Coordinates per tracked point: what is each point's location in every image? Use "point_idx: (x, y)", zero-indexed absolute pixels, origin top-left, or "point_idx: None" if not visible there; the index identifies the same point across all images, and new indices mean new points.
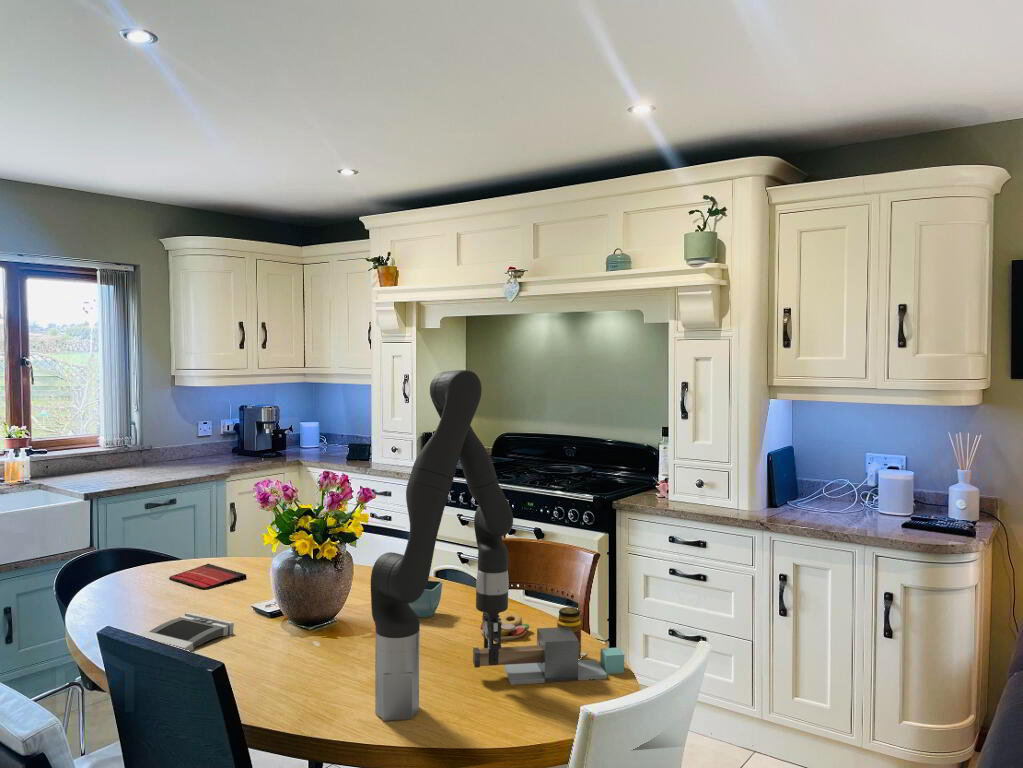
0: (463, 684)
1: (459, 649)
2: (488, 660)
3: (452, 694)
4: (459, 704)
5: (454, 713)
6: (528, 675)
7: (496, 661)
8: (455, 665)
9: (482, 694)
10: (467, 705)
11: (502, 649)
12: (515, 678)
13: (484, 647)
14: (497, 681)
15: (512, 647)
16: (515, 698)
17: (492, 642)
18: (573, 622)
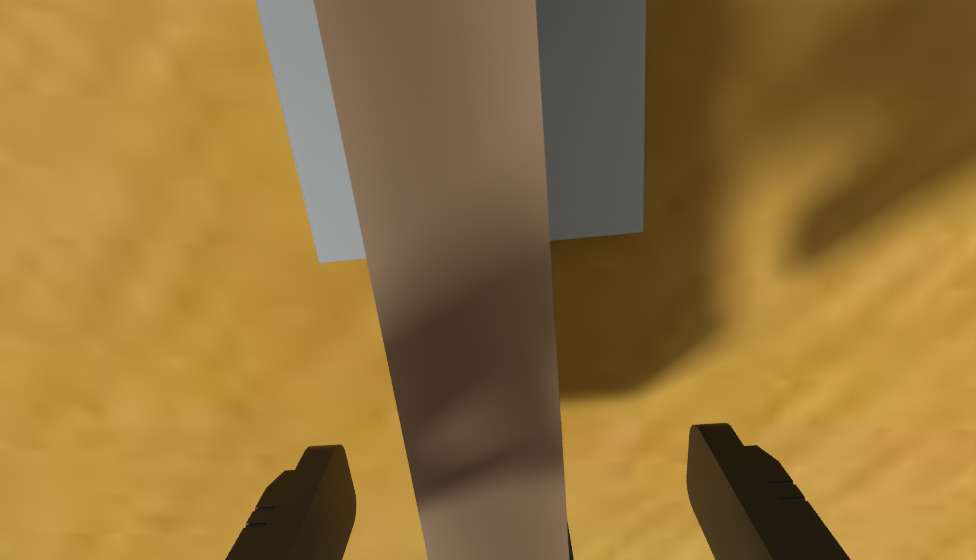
0: (583, 503)
1: (32, 516)
2: (704, 524)
3: (709, 552)
4: (848, 524)
5: (948, 545)
6: (556, 56)
7: (778, 467)
8: None
9: (749, 410)
10: (875, 489)
11: (468, 403)
12: (610, 187)
13: (345, 539)
14: (559, 311)
15: (398, 281)
16: (879, 200)
17: (313, 517)
18: None
